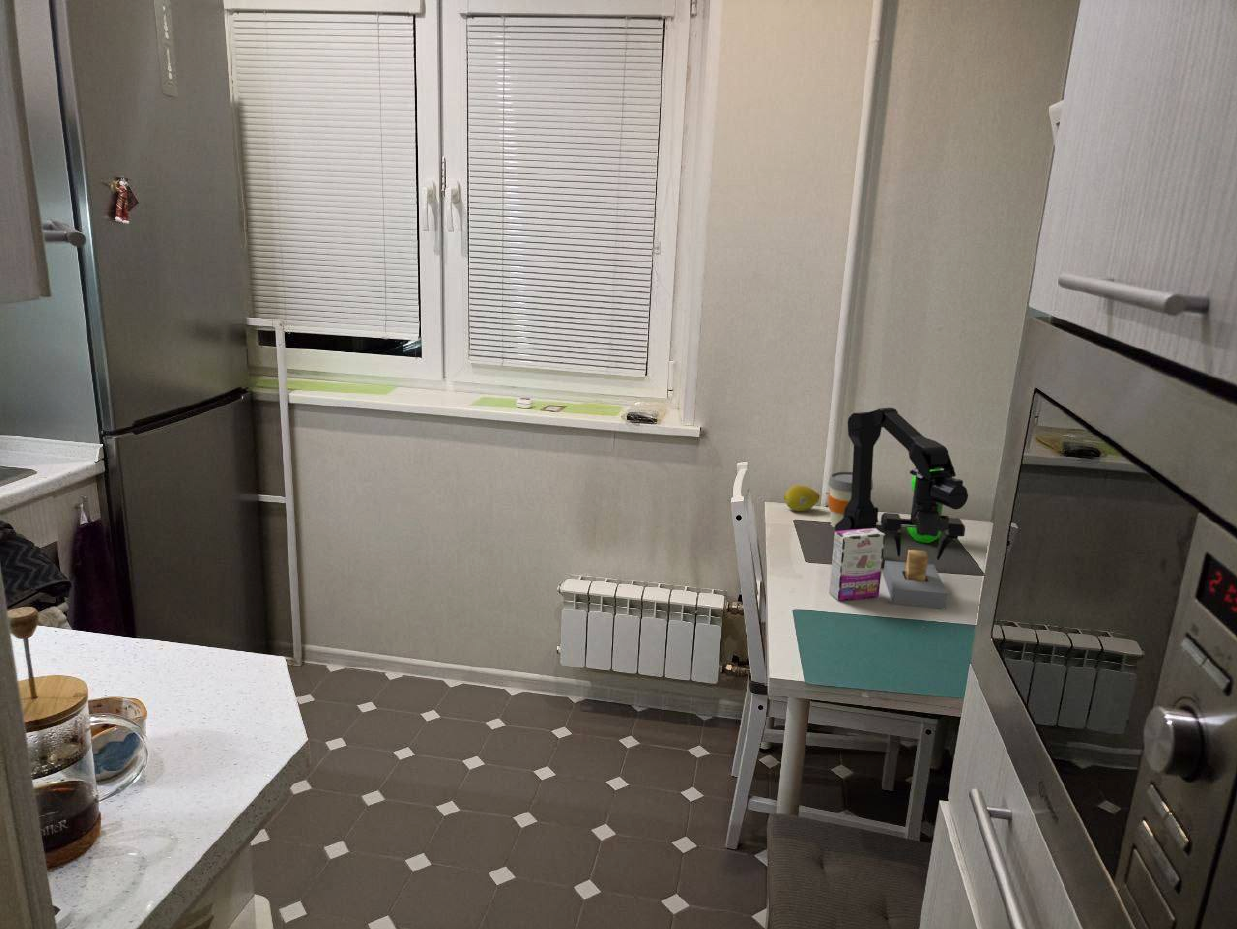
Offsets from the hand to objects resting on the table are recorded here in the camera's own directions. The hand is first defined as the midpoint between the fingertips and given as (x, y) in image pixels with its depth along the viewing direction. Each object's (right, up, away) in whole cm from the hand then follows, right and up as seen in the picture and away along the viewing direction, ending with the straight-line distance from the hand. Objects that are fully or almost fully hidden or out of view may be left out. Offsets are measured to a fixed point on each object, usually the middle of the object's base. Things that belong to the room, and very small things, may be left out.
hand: (918, 557), depth 220 cm
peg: (0, -9, +3) cm, 9 cm away
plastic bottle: (+14, +1, +39) cm, 41 cm away
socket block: (0, -9, +3) cm, 9 cm away
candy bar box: (-16, -9, -1) cm, 19 cm away
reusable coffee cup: (-5, +4, +48) cm, 49 cm away
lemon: (-17, +8, +60) cm, 63 cm away
